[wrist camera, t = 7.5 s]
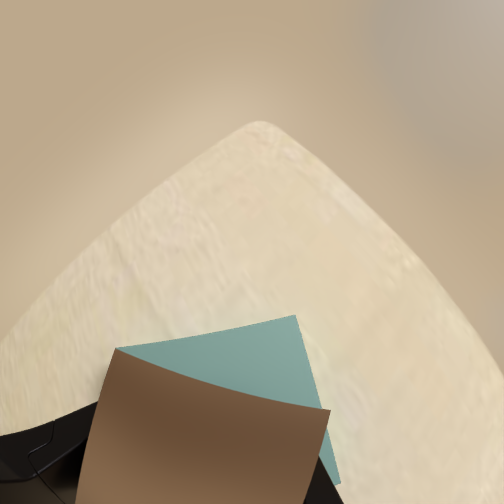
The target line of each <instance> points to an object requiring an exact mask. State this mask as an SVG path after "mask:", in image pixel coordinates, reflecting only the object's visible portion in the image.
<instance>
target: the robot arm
mask: <svg viewBox="0 0 504 504" xmlns="http://www.w3.org/2000/svg"><path fill="white" fill-rule="evenodd" d="M97 404H98V401H97V402H95V403H92V404H90V405H88V406H86V407H83V408H81V409H79V410H77V411H74V412H72V413H70V414H67V415H65V416H63V417H60V418H58V419H56V420H55V421H51V422H48V423H46V424H43V425H40V426H37V427H35V428H31V429H28V430H24V431H21V432H16V433H12V434H7V435H3V436H0V504H75V501H76V495H77V489H78V483H79V478H80V473H81V468H82V463H83V458H84V454H85V449H86V445H87V441H88V437H89V433H90V429H91V425H92V421H93V418H94V414H95V411H96V407H97ZM303 504H344V503H343V501H342V499H341V497H340V496H339V494H338V492H337V490H336V488H335V486H334V484H333V482H332V480H331V478H330V476H329V474H328V472H327V470H326V468H325V466H324V464H323V462H322V460H321V458H320V456H318V460H317V463H316V466H315V469H314V472H313V475H312V479H311V482H310V485H309V488H308V490H307V493H306V496H305V499H304V502H303Z"/></svg>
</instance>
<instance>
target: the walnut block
mask: <svg viewBox="0 0 504 504" xmlns="http://www.w3.org/2000/svg"><path fill="white" fill-rule="evenodd" d="M330 411H331V410H326V409H319V408H313V407H307V406H301V405H296V404H291V403H286V402H281V401H276V400H271V399H267V398H263V397H258V396H254V395H250V394H246V393H242V392H238V391H235V390H231V389H227V388H224V387H220V386H217V385H213V384H210V383H207V382H204V381H200V380H197V379H194V378H191V377H188V376H185V375H182V374H179V373H176V372H174V371H171V370H168V369H165V368H163V367H160V366H157V365H155V364H152V363H149V362H147V361H144V360H142V359H139V358H137V357H134V356H132V355H130V354H127V353H125V352H123V351H120V350H118V349H116V348H115V351H114V353H113V356H112V359H111V362H110V365H109V368H108V371H107V374H106V377H105V380H104V384H103V387H102V390H101V393H100V397H99V400H98V404H97V407H96V411H95V414H94V418H93V421H92V425H91V429H90V433H89V437H88V441H87V445H86V449H85V454H84V458H83V463H82V468H81V473H80V478H79V483H78V489H77V495H76V501H75V504H303V502H304V499H305V496H306V493H307V490H308V488H309V485H310V482H311V479H312V475H313V472H314V469H315V466H316V463H317V460H318V456H319V453H320V449H321V446H322V442H323V439H324V435H325V431H326V427H327V423H328V420H329V415H330Z"/></svg>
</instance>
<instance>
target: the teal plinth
mask: <svg viewBox="0 0 504 504" xmlns="http://www.w3.org/2000/svg"><path fill="white" fill-rule="evenodd" d="M116 349H118V350H120V351H123V352H125V353H127V354H130V355H132V356H134V357H137V358H139V359H142V360H144V361H147V362H149V363H152V364H155V365H157V366H160V367H163V368H165V369H168V370H171V371H174V372H176V373H179V374H182V375H185V376H188V377H191V378H194V379H197V380H200V381H204V382H207V383H210V384H213V385H217V386H220V387H224V388H227V389H231V390H235V391H238V392H242V393H246V394H250V395H254V396H258V397H263V398H267V399H271V400H276V401H281V402H286V403H291V404H296V405H301V406H307V407H313V408H319V409H322V407H321V404H320V400H319V396H318V393H317V389H316V385H315V382H314V378H313V374H312V371H311V367H310V364H309V360H308V357H307V353H306V350H305V346H304V343H303V339H302V336H301V332H300V329H299V325H298V322H297V319H296V315H292V316H288V317H284V318H279V319H275V320H271V321H266V322H262V323H258V324H253V325H248V326H244V327H239V328H234V329H229V330H224V331H219V332H214V333H209V334H203V335H198V336H192V337H187V338H181V339H175V340H169V341H162V342H156V343H149V344H142V345H135V346H127V347H119V348H116ZM319 456H320V458H321V460H322V462H323V464H324V466H325V468H326V470H327V472H328V474H329V476H330V478H331V480H332V482H333V484H334V486H335V485H337V484H340V483H341V481H340V477H339V473H338V469H337V465H336V461H335V457H334V453H333V449H332V445H331V441H330V438H329V434H328V430H327V427H326V431H325V435H324V439H323V442H322V446H321V449H320V453H319Z"/></svg>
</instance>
